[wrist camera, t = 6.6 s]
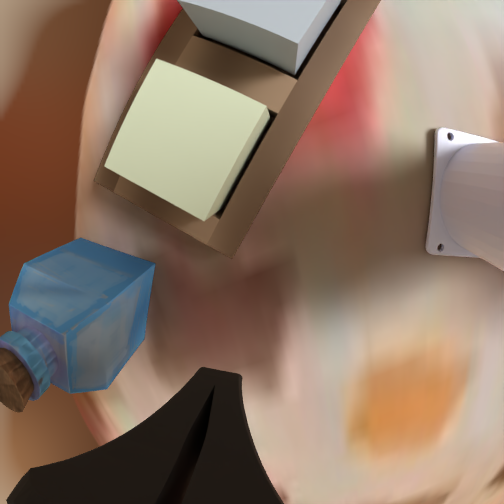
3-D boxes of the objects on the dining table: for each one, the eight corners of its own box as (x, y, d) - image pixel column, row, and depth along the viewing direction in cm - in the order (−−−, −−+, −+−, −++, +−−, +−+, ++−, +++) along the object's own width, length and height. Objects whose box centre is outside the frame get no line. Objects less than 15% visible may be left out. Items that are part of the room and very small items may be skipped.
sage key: (271, 120, 16) (266, 106, 12) (223, 206, 17) (203, 221, 13) (186, 81, 16) (156, 58, 11) (144, 164, 17) (104, 166, 13)
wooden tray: (407, -45, 12) (420, -65, 9) (240, 244, 19) (232, 259, 16) (296, -92, 12) (296, -115, 9) (118, 177, 19) (93, 180, 16)
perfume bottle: (80, 237, 20) (-50, 302, 9) (155, 263, 20) (38, 365, 9) (76, 310, 22) (-24, 396, 11) (144, 338, 22) (59, 455, 10)
